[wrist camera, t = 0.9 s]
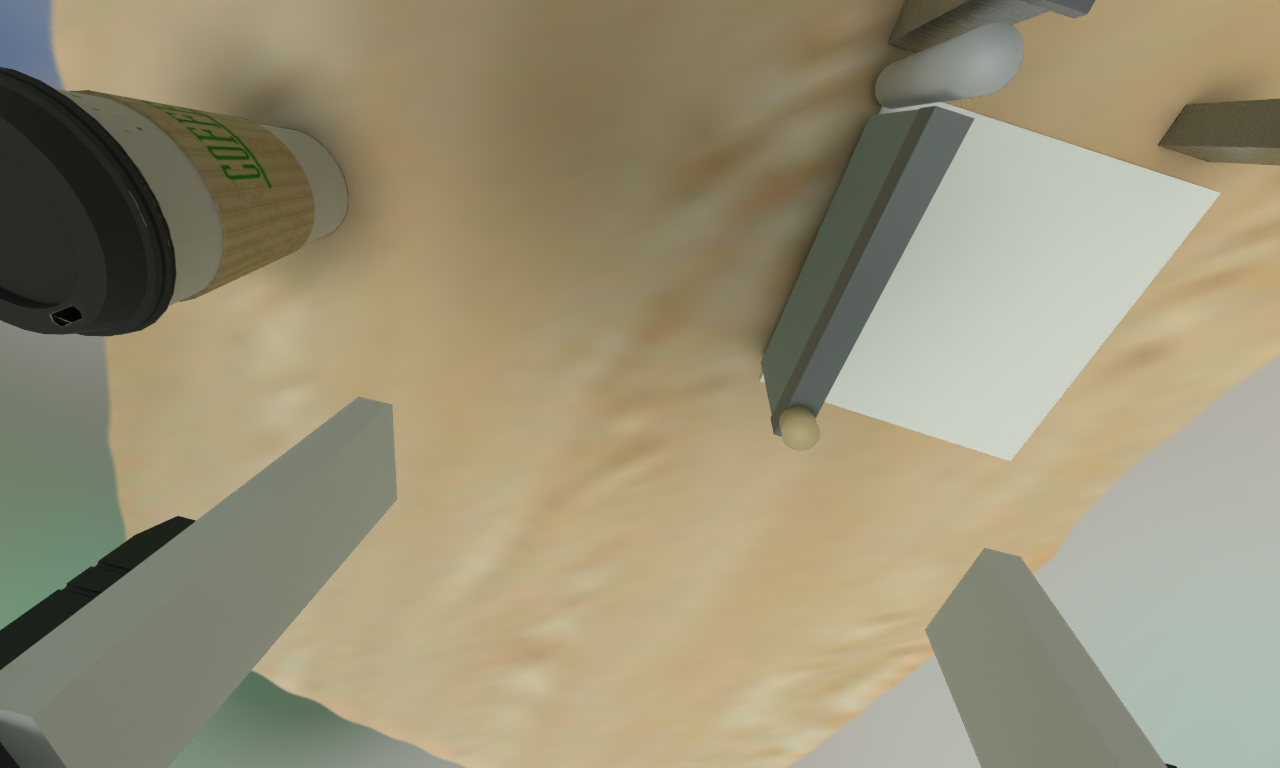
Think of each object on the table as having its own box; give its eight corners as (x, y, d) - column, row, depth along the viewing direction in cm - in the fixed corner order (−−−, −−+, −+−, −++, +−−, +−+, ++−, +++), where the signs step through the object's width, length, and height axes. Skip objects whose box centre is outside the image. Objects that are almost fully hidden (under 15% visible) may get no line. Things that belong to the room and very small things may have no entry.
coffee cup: (317, 65, 28) (-44, 1, 15) (405, 238, 32) (180, 313, 18) (190, 128, 30) (-218, 123, 17) (285, 282, 34) (11, 376, 21)
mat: (890, 86, 25) (893, 86, 25) (1213, 192, 25) (1220, 193, 25) (759, 378, 33) (759, 381, 32) (1007, 457, 33) (1010, 461, 33)
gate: (887, 54, 24) (987, 8, 15) (928, 67, 24) (1050, 29, 15) (754, 360, 31) (770, 446, 23) (785, 369, 31) (812, 459, 23)
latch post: (1186, 104, 24) (1367, 92, 17) (1238, 121, 24) (1438, 116, 17) (1158, 145, 25) (1320, 148, 18) (1208, 161, 25) (1388, 171, 18)
